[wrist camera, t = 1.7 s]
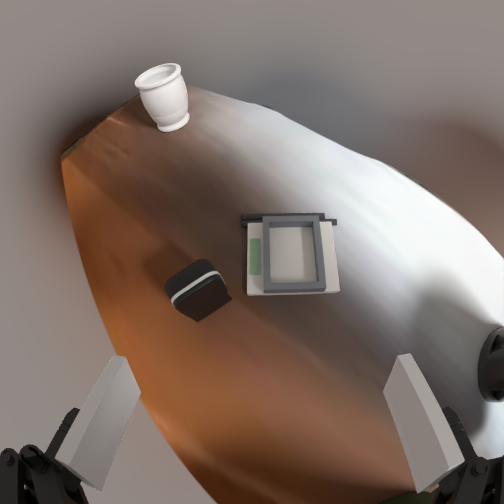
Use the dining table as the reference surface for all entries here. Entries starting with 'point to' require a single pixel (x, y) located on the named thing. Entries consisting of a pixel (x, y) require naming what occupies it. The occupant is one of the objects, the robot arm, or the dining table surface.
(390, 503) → the flower pot
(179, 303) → the black rounded block
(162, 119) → the jar
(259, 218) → the slim dark grey rod
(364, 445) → the dining table surface
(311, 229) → the panel board
